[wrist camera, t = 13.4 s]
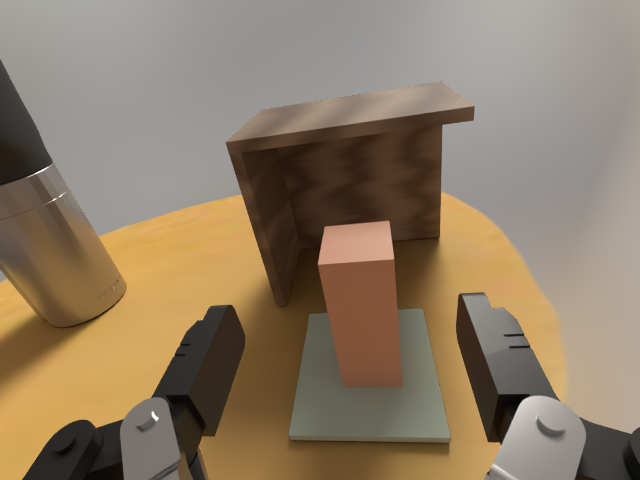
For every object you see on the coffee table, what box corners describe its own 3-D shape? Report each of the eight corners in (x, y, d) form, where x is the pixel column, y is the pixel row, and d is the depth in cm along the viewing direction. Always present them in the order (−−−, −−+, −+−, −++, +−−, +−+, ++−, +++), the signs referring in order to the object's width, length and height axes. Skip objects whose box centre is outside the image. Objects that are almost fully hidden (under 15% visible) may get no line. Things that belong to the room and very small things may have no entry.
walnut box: (276, 306, 37) (225, 142, 27) (294, 245, 47) (261, 109, 37) (461, 296, 34) (474, 105, 24) (438, 232, 44) (441, 81, 34)
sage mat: (290, 439, 24) (288, 435, 24) (310, 317, 34) (309, 313, 34) (450, 442, 22) (450, 437, 22) (422, 312, 33) (422, 308, 32)
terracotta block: (343, 387, 27) (317, 264, 20) (345, 341, 30) (324, 226, 24) (402, 386, 26) (394, 259, 20) (397, 340, 30) (389, 220, 23)
